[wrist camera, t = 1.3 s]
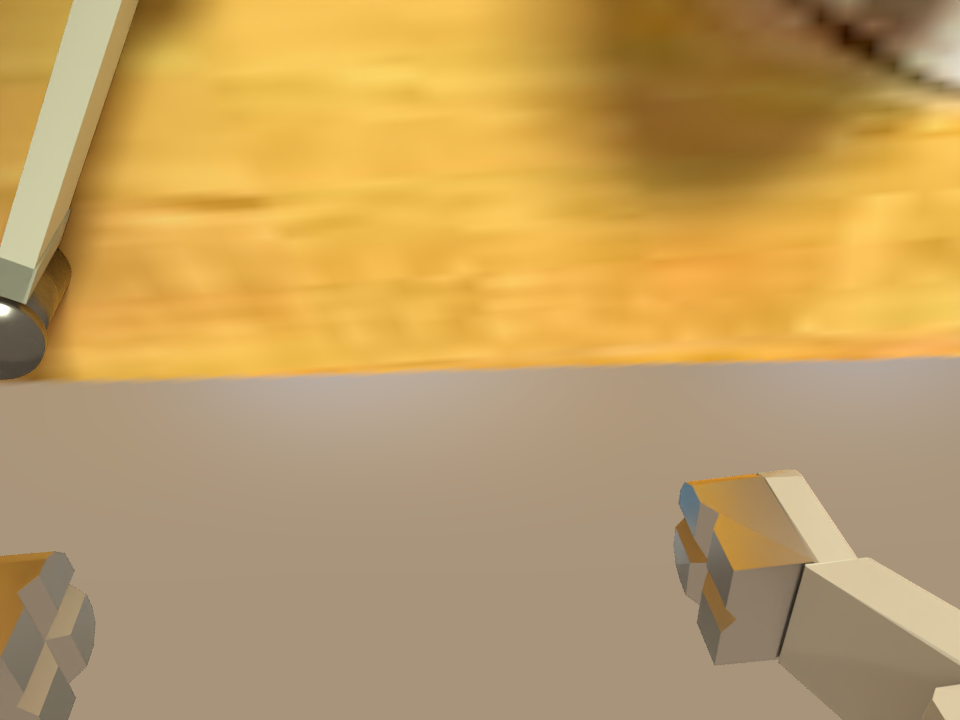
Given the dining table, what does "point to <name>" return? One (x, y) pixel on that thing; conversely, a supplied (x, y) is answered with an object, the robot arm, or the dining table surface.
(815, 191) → the dining table surface
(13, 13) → the dining table surface
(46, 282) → the gate posts
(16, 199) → the bar
